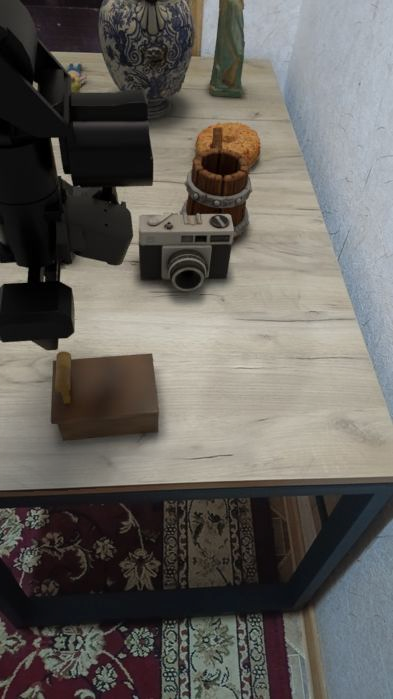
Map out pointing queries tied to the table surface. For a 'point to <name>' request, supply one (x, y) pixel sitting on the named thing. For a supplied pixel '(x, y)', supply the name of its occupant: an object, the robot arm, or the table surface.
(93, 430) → the chest
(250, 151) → the bagel
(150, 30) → the decorative vase
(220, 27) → the statue
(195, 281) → the camera
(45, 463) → the table surface
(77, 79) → the figurine
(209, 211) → the mug
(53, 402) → the lid
